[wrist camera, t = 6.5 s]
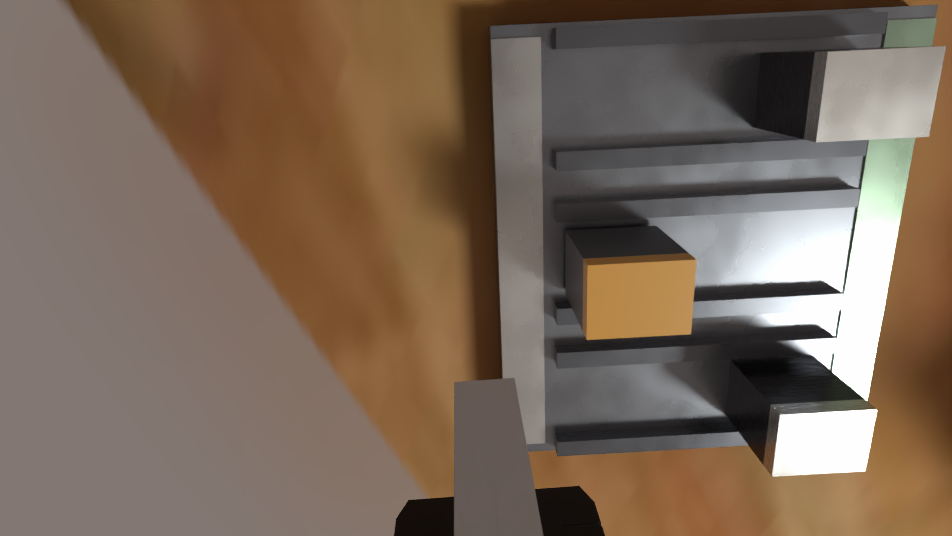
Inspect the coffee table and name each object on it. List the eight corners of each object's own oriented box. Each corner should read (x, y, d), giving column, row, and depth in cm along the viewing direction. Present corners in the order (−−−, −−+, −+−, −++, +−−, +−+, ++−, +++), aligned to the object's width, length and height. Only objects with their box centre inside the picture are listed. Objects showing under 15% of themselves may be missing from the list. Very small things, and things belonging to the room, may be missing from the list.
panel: (488, 27, 26) (497, 18, 20) (911, 7, 26) (1045, -7, 20) (503, 435, 32) (513, 520, 27) (842, 416, 33) (928, 496, 27)
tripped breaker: (565, 230, 27) (587, 265, 23) (656, 225, 27) (696, 259, 23) (565, 294, 28) (586, 340, 24) (653, 289, 28) (691, 334, 24)
